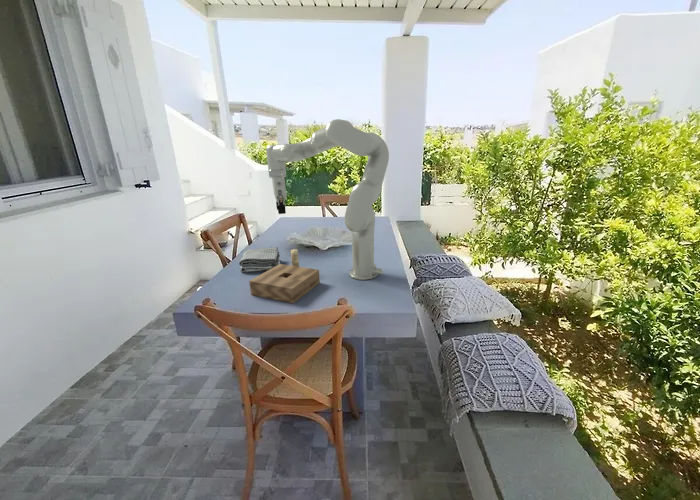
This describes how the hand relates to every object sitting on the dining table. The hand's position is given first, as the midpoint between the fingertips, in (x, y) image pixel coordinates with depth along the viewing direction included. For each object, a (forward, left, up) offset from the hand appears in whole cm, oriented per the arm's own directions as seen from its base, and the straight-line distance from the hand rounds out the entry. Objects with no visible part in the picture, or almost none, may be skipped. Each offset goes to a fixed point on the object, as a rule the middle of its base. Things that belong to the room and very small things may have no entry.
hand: (281, 211), depth 149 cm
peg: (-9, +5, -27) cm, 29 cm away
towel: (+12, +4, -28) cm, 30 cm away
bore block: (-15, +21, -27) cm, 38 cm away
